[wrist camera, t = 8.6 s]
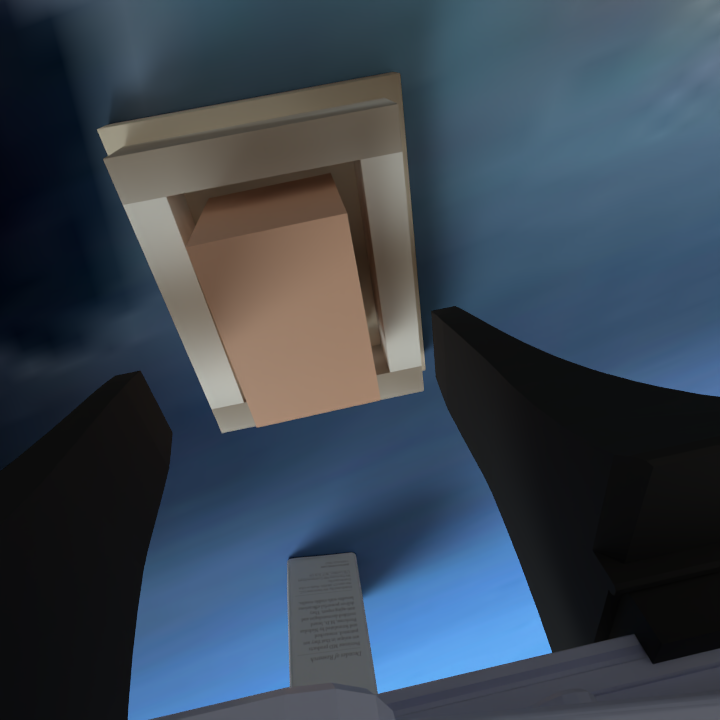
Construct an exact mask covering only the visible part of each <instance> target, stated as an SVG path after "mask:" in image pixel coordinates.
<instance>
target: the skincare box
mask: <svg viewBox="0 0 720 720" xmlns="http://www.w3.org/2000/svg"><path fill="white" fill-rule="evenodd" d="M287 600H288V634H289V670H290V687H297V686H305V685H314V684H323V683H337V684H343V685H349V686H355V687H361V688H367V689H368V690H369V691H371V692H372V693H373V694H374V695H376V694H378V692H377V686H376V679H375V673H374V666H373V660H372V654H371V648H370V641H369V635H368V629H367V622H366V615H365V610H364V603H363V597H362V590H361V584H360V578H359V572H358V566H357V559H356V555H355V554H354V553H352V552H350V553H341V554H332V555H323V556H311V557H299V558H292V559H289V560H288V562H287Z"/></svg>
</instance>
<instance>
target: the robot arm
mask: <svg viewBox="0 0 720 720" xmlns="http://www.w3.org/2000/svg"><path fill="white" fill-rule="evenodd" d="M431 315H432V330H433V344H434V358H435V372H436V379H437V382H438V384H439V387H440V390H441V393H442V395H443V398H444V401H445V403H446V406H447V408H448V410H449V412H450V414H451V416H452V418H453V420H454V422H455V424H456V425H457V427H458V429H459V431H460V433H461V435H462V437H463V438H464V440H465V442H466V444H467V446H468V448H469V450H470V451H471V453H472V455H473V457H474V459H475V461H476V462H477V464H478V466H479V468H480V470H481V472H482V473H483V475H484V477H485V479H486V481H487V483H488V485H489V488H490V490H491V492H492V494H493V496H494V499H495V501H496V504H497V506H498V509H499V511H500V513H501V516H502V518H503V521H504V523H505V526H506V528H507V531H508V533H509V536H510V538H511V541H512V544H513V546H514V549H515V551H516V554H517V556H518V559H519V561H520V564H521V567H522V569H523V572H524V575H525V577H526V580H527V583H528V586H529V588H530V591H531V594H532V596H533V599H534V602H535V605H536V607H537V610H538V613H539V615H540V618H541V621H542V624H543V627H544V630H545V633H546V636H547V638H548V641H549V644H550V647H551V650H552V653H550V654H546V655H542V656H537V657H533V658H529V659H525V660H520V661H516V662H512V663H508V664H503V665H499V666H495V667H491V668H486V669H482V670H478V671H474V672H469V673H465V674H461V675H457V676H452V677H448V678H444V679H440V680H436V681H431V682H427V683H423V684H419V685H414V686H410V687H406V688H402V689H397V690H393V691H389V692H385V693H380V694H376V695H374V694H373V693H372V692H371V691H369V690H368V689H367V688H361V687H355V686H349V685H343V684H337V683H323V684H314V685H305V686H297V687H288V688H283V689H278V690H274V691H270V692H266V693H261V694H257V695H253V696H248V697H244V698H240V699H236V700H231V701H227V702H223V703H218V704H214V705H210V706H206V707H201V708H197V709H193V710H189V711H184V712H180V713H176V714H171V715H167V716H163V717H159V718H154V719H150V720H720V397H716V396H709V395H702V394H695V393H690V392H685V391H679V390H674V389H668V388H663V387H658V386H654V385H649V384H645V383H640V382H636V381H632V380H628V379H625V378H621V377H617V376H613V375H610V374H606V373H602V372H599V371H596V370H593V369H589V368H586V367H584V366H581V365H578V364H575V363H572V362H569V361H567V360H564V359H561V358H558V357H556V356H553V355H551V354H549V353H546V352H544V351H542V350H540V349H537V348H535V347H533V346H531V345H528V344H526V343H524V342H522V341H520V340H518V339H516V338H514V337H512V336H510V335H508V334H506V333H504V332H502V331H500V330H498V329H497V328H495V327H493V326H491V325H489V324H487V323H486V322H484V321H482V320H480V319H479V318H477V317H475V316H473V315H471V314H470V313H468V312H466V311H464V310H462V309H460V308H458V307H456V306H453V307H448V308H443V309H438V310H434V311H431ZM171 444H172V431H171V429H170V427H169V425H168V423H167V421H166V419H165V417H164V415H163V413H162V411H161V409H160V408H159V406H158V404H157V402H156V400H155V398H154V396H153V394H152V392H151V390H150V388H149V386H148V384H147V382H146V380H145V378H144V376H143V375H142V373H141V371H136V372H132V373H127V374H122V375H117V376H114V377H113V378H112V379H110V380H109V381H107V382H106V383H105V384H104V385H102V386H101V387H100V388H99V389H97V390H96V391H95V392H94V393H93V394H92V395H90V396H89V397H88V398H87V399H86V400H85V401H84V402H82V403H81V404H80V405H79V406H78V407H77V408H76V409H74V410H73V411H72V412H71V413H70V414H69V415H68V416H66V417H65V418H64V419H63V420H62V421H61V422H60V423H59V424H57V425H56V426H55V427H54V428H53V429H52V430H51V431H49V432H48V433H47V434H46V435H45V436H43V437H42V438H41V439H40V440H38V441H37V442H36V443H35V444H34V445H32V446H31V447H30V448H29V449H28V450H26V451H25V452H24V453H23V454H21V455H20V456H19V457H18V458H17V459H15V460H14V461H13V462H12V463H10V464H9V465H8V466H7V467H5V468H4V469H3V470H1V471H0V720H128V704H129V692H130V679H131V667H132V655H133V646H134V638H135V629H136V620H137V611H138V604H139V598H140V591H141V584H142V577H143V570H144V565H145V561H146V556H147V551H148V548H149V544H150V540H151V536H152V532H153V529H154V525H155V521H156V517H157V513H158V510H159V506H160V502H161V498H162V494H163V490H164V487H165V483H166V479H167V474H168V470H169V464H170V455H171Z"/></svg>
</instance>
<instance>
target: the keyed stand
mask: <svg viewBox="0 0 720 720" xmlns="http://www.w3.org/2000/svg"><path fill="white" fill-rule="evenodd" d="M97 131H98V133H99V135H100V138H101V140H102V142H103V145H104V147H105V149H106V152H107V154H108V156H107V157H106V158H104V159H103V160H104V163H105V165H106V167H107V169H108V172H109V174H110V176H111V179H112V181H113V183H114V186H115V188H116V190H117V192H118V195H119V197H120V199H121V202H122V204H123V206H124V209H125V211H126V213H127V215H128V218H129V220H130V222H131V225H132V227H133V229H134V232H135V234H136V236H137V239H138V241H139V243H140V245H141V248H142V250H143V252H144V255H145V257H146V259H147V262H148V264H149V266H150V268H151V271H152V273H153V275H154V278H155V280H156V282H157V285H158V287H159V289H160V291H161V294H162V296H163V298H164V301H165V303H166V305H167V308H168V310H169V312H170V315H171V317H172V319H173V321H174V324H175V326H176V328H177V331H178V333H179V335H180V338H181V340H182V342H183V344H184V347H185V349H186V351H187V354H188V356H189V358H190V361H191V363H192V365H193V367H194V370H195V372H196V374H197V377H198V379H199V381H200V384H201V386H202V388H203V391H204V393H205V395H206V397H207V400H208V402H209V404H210V407H211V409H212V411H213V414H214V416H215V418H216V420H217V423H218V425H219V427H220V430H221V432H222V433H224V432H229V431H234V430H239V429H244V428H248V427H253V426H256V424H255V422H254V419H253V417H252V414H251V412H250V409H249V407H248V404H247V402H246V399H245V396H244V394H243V391H242V389H241V386H240V384H239V381H238V379H237V376H236V374H235V371H234V369H233V366H232V364H231V361H230V359H229V356H228V354H227V351H226V349H225V346H224V343H223V341H222V338H221V336H220V333H219V331H218V328H217V326H216V323H215V321H214V318H213V316H212V313H211V311H210V308H209V306H208V303H207V301H206V298H205V295H204V293H203V290H202V288H201V285H200V283H199V280H198V278H197V275H196V273H195V270H194V268H193V265H192V263H191V260H190V258H189V255H188V253H187V250H186V248H185V247H186V245H187V243H188V241H189V239H190V237H191V235H192V232H193V230H194V228H195V226H196V224H197V222H198V220H199V218H200V216H201V213H202V211H203V209H204V207H205V205H206V203H207V201H208V199H209V198H213V197H217V196H222V195H227V194H232V193H236V192H241V191H246V190H251V189H256V188H260V187H265V186H270V185H275V184H280V183H284V182H289V181H294V180H299V179H303V178H308V177H313V176H318V175H323V174H327V173H331V175H332V178H333V180H334V182H335V185H336V187H337V190H338V192H339V195H340V197H341V200H342V202H343V204H344V207H345V209H346V212H347V215H348V221H349V226H350V232H351V237H352V243H353V249H354V254H355V260H356V265H357V271H358V276H359V282H360V287H361V293H362V298H363V304H364V309H365V315H366V320H367V326H368V331H369V337H370V342H371V348H372V353H373V359H374V364H375V370H376V376H377V381H378V387H379V392H380V398H381V400H382V399H387V398H392V397H397V396H402V395H406V394H411V393H416V392H421V391H424V386H423V375H422V371H423V370H425V359H424V347H423V336H422V324H421V312H420V300H419V289H418V277H417V265H416V253H415V242H414V230H413V218H412V206H411V195H410V183H409V171H408V160H407V148H406V136H405V124H404V113H403V101H402V89H401V77H400V73H397V72H390V73H384V74H379V75H373V76H368V77H363V78H357V79H352V80H346V81H341V82H335V83H330V84H325V85H319V86H314V87H308V88H303V89H298V90H292V91H287V92H281V93H276V94H271V95H265V96H260V97H254V98H249V99H243V100H238V101H233V102H227V103H222V104H216V105H211V106H206V107H200V108H195V109H189V110H184V111H178V112H173V113H168V114H162V115H157V116H151V117H146V118H141V119H135V120H130V121H124V122H119V123H114V124H108V125H105V126H103V127H101V128H99V129H97Z"/></svg>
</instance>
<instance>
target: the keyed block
mask: <svg viewBox="0 0 720 720" xmlns="http://www.w3.org/2000/svg"><path fill="white" fill-rule="evenodd" d="M185 248H186V250H187V253H188V255H189V258H190V260H191V263H192V265H193V268H194V270H195V273H196V275H197V278H198V280H199V283H200V285H201V288H202V290H203V293H204V295H205V298H206V301H207V303H208V306H209V308H210V311H211V313H212V316H213V318H214V321H215V323H216V326H217V328H218V331H219V333H220V336H221V338H222V341H223V343H224V346H225V349H226V351H227V354H228V356H229V359H230V361H231V364H232V366H233V369H234V371H235V374H236V376H237V379H238V381H239V384H240V386H241V389H242V391H243V394H244V396H245V399H246V402H247V404H248V407H249V409H250V412H251V414H252V417H253V419H254V422H255V424H256V427H262V426H266V425H271V424H275V423H280V422H284V421H289V420H293V419H298V418H302V417H307V416H311V415H316V414H320V413H325V412H330V411H334V410H339V409H343V408H348V407H352V406H357V405H361V404H366V403H370V402H375V401H379V400H381V398H380V392H379V387H378V381H377V376H376V370H375V364H374V359H373V353H372V348H371V342H370V337H369V331H368V326H367V320H366V315H365V309H364V304H363V298H362V293H361V287H360V282H359V276H358V271H357V265H356V260H355V254H354V249H353V243H352V237H351V232H350V226H349V221H348V215H347V212H346V209H345V207H344V204H343V202H342V200H341V197H340V195H339V192H338V190H337V187H336V185H335V182H334V180H333V178H332V175H331V173H327V174H323V175H318V176H313V177H308V178H303V179H299V180H294V181H289V182H284V183H280V184H275V185H270V186H265V187H260V188H256V189H251V190H246V191H241V192H236V193H232V194H227V195H222V196H217V197H213V198H209V199H208V201H207V203H206V205H205V207H204V209H203V211H202V213H201V216H200V218H199V220H198V222H197V224H196V226H195V228H194V230H193V232H192V235H191V237H190V239H189V241H188V243H187V245H186V247H185Z"/></svg>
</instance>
